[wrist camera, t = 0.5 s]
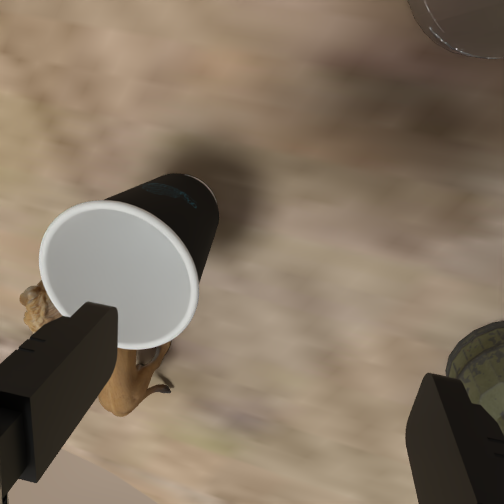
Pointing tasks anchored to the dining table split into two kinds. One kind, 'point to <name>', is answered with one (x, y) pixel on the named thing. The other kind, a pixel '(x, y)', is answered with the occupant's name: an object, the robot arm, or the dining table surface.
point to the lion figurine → (126, 371)
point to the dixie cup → (134, 256)
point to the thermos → (482, 368)
